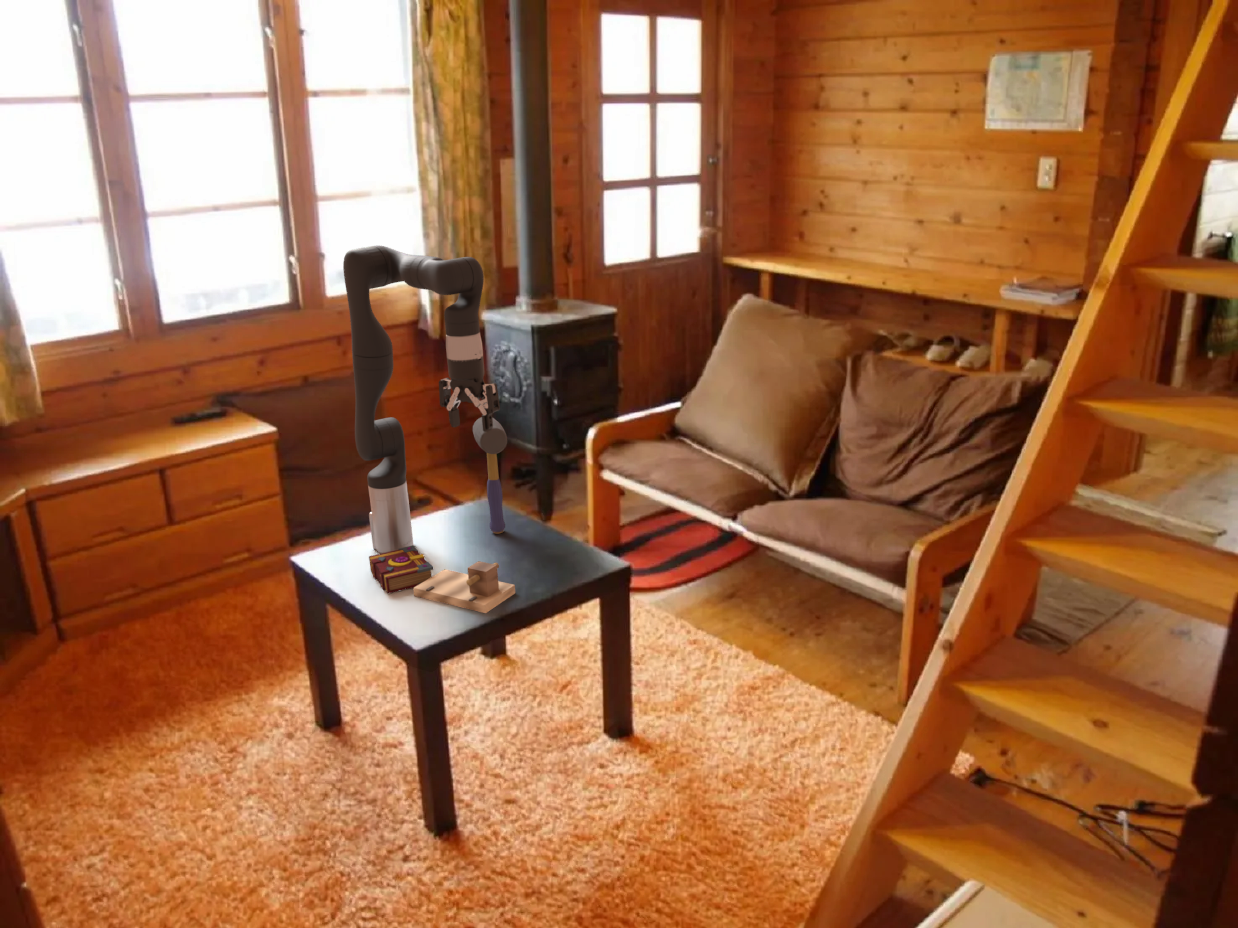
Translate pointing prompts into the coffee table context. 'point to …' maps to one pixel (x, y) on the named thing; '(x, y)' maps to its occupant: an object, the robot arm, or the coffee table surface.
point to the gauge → (483, 578)
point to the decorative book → (400, 569)
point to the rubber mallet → (492, 469)
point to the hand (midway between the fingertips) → (471, 428)
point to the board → (460, 592)
